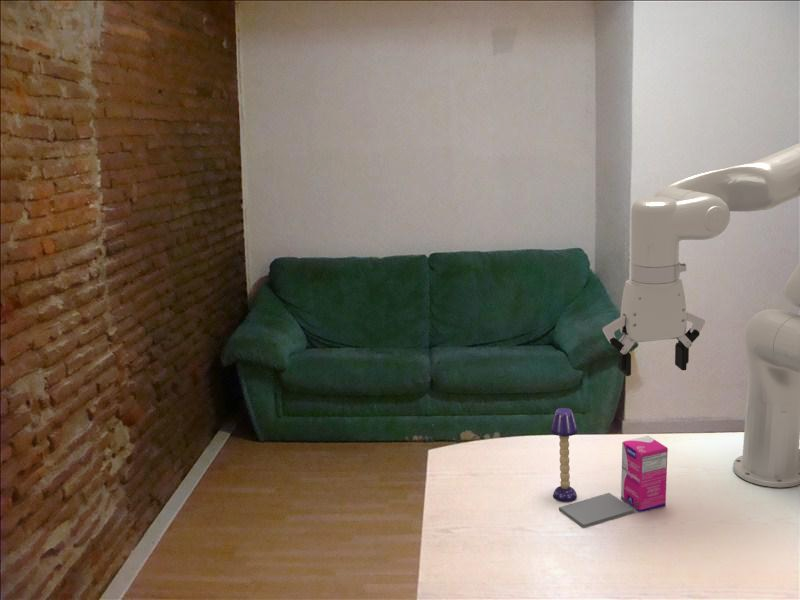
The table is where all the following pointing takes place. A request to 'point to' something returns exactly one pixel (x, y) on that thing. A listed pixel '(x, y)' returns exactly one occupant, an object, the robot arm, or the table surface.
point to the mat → (596, 510)
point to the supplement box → (644, 473)
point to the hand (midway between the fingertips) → (653, 370)
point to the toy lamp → (564, 452)
